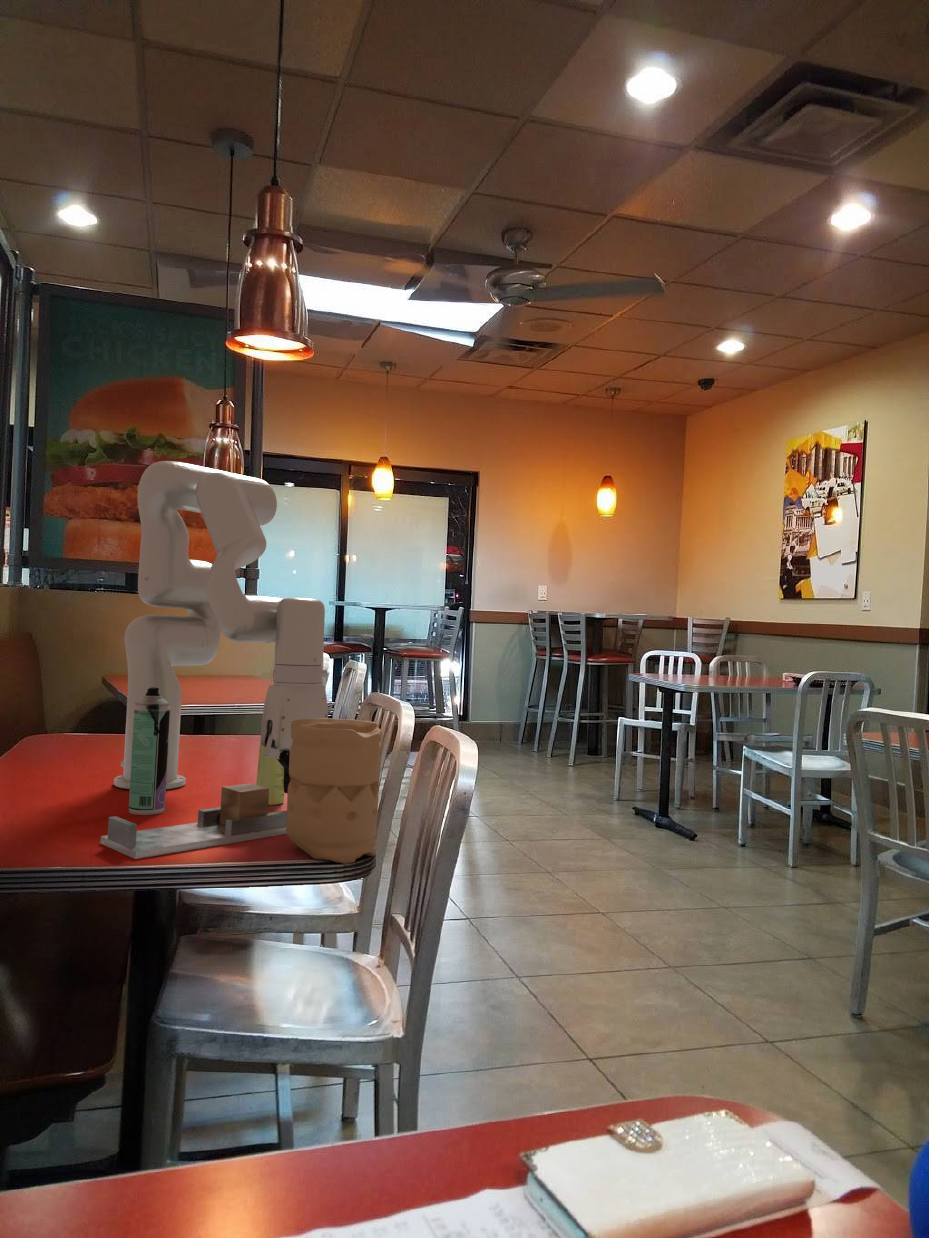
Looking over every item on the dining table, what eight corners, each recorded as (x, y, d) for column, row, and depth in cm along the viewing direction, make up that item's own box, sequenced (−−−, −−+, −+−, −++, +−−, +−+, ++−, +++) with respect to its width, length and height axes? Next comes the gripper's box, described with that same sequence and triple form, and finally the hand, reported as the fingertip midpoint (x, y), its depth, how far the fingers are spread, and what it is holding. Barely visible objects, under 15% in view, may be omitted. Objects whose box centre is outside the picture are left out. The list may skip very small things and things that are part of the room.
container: (387, 846, 127) (393, 722, 127) (357, 869, 115) (364, 731, 115) (306, 837, 130) (312, 716, 130) (268, 858, 118) (275, 724, 118)
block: (219, 823, 132) (221, 786, 132) (248, 819, 135) (250, 783, 135) (238, 829, 128) (240, 792, 128) (267, 825, 132) (269, 788, 132)
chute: (100, 843, 121) (102, 814, 121) (255, 820, 139) (256, 795, 139) (135, 859, 114) (137, 828, 114) (293, 832, 132) (294, 806, 132)
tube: (289, 805, 152) (295, 692, 152) (261, 807, 149) (267, 692, 149) (277, 798, 157) (283, 689, 157) (250, 800, 154) (256, 689, 154)
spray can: (170, 812, 142) (177, 688, 142) (138, 816, 138) (145, 689, 138) (154, 806, 145) (160, 685, 146) (122, 810, 141) (129, 686, 142)
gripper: (321, 674, 146) (317, 785, 146) (243, 675, 135) (239, 795, 135) (350, 677, 141) (346, 792, 141) (272, 678, 130) (267, 802, 130)
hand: (293, 793), depth 138 cm, fingers closed
